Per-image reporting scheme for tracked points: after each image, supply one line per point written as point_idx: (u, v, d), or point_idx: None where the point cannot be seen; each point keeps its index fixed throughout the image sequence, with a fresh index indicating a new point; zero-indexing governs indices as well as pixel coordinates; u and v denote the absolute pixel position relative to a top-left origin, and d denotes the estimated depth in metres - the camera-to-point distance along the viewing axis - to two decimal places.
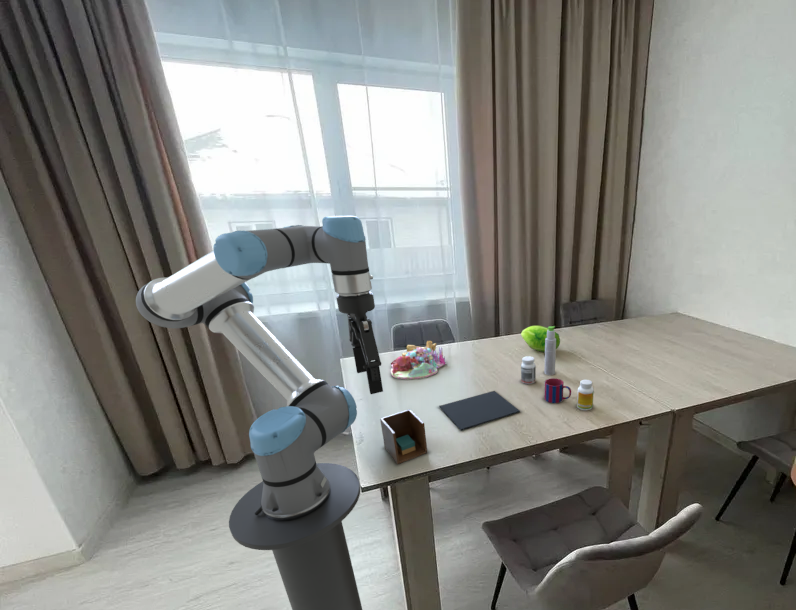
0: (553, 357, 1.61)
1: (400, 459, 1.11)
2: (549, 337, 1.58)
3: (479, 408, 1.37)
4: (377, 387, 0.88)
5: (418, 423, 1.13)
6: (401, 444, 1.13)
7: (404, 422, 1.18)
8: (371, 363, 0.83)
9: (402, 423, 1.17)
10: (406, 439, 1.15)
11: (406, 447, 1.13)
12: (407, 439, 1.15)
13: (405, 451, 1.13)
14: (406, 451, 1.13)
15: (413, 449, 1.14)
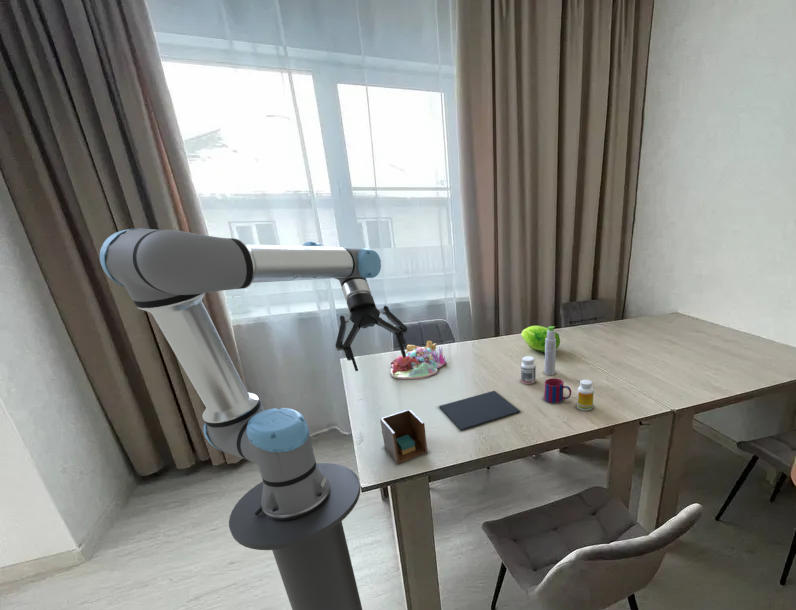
0: (553, 357, 1.61)
1: (400, 459, 1.11)
2: (549, 337, 1.58)
3: (479, 408, 1.37)
4: None
5: (418, 423, 1.13)
6: (401, 444, 1.13)
7: (404, 422, 1.18)
8: None
9: (402, 423, 1.17)
10: (406, 439, 1.15)
11: (406, 447, 1.13)
12: (407, 439, 1.15)
13: (405, 451, 1.13)
14: (406, 451, 1.13)
15: (413, 449, 1.14)
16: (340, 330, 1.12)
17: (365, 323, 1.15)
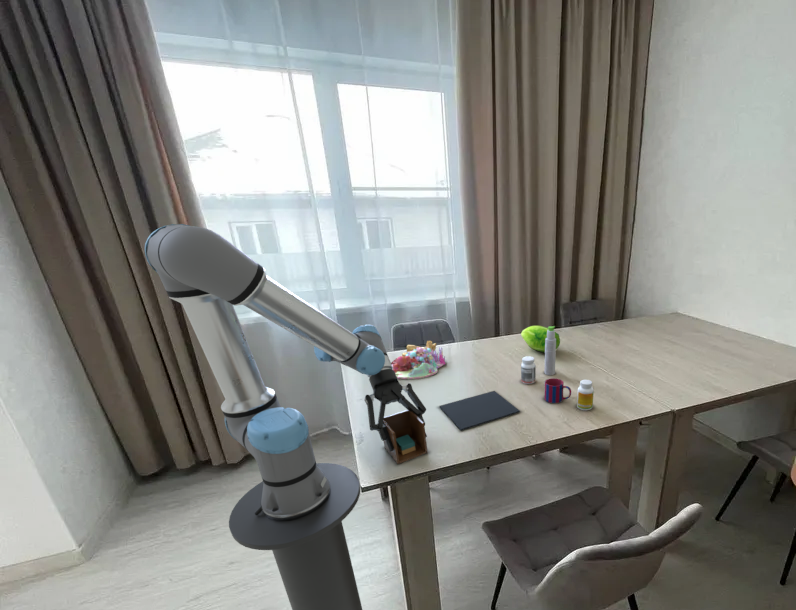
0: (553, 357, 1.61)
1: (400, 459, 1.11)
2: (549, 337, 1.58)
3: (479, 408, 1.37)
4: None
5: (418, 423, 1.13)
6: (401, 444, 1.13)
7: (404, 422, 1.18)
8: None
9: (402, 423, 1.17)
10: (406, 439, 1.15)
11: (406, 447, 1.13)
12: (407, 439, 1.15)
13: (405, 451, 1.13)
14: (406, 451, 1.13)
15: (413, 449, 1.14)
16: (370, 410, 1.10)
17: (390, 399, 1.14)
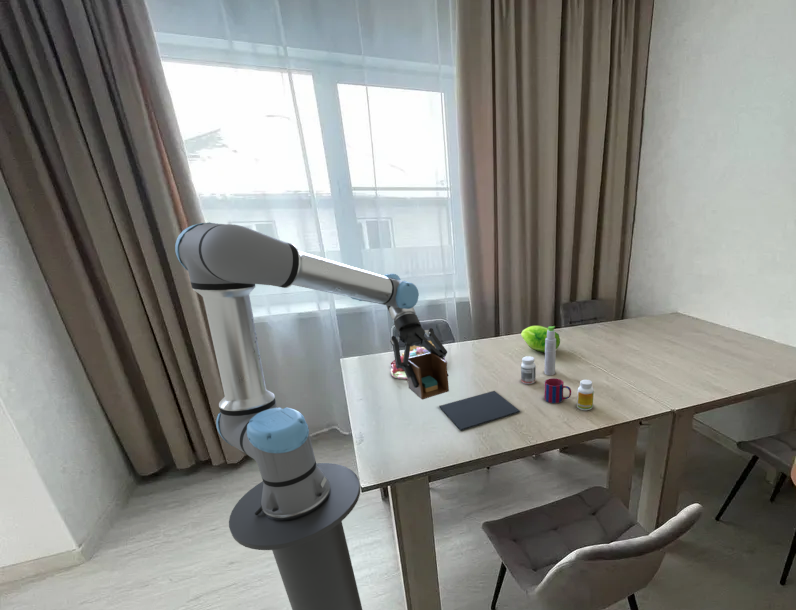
0: (553, 357, 1.61)
1: (424, 395, 1.19)
2: (549, 337, 1.58)
3: (479, 408, 1.37)
4: None
5: (440, 363, 1.21)
6: (424, 382, 1.21)
7: (426, 364, 1.26)
8: None
9: (425, 365, 1.26)
10: (429, 379, 1.23)
11: (429, 385, 1.21)
12: (430, 379, 1.23)
13: (428, 389, 1.21)
14: (429, 389, 1.21)
15: (435, 388, 1.22)
16: (396, 349, 1.18)
17: (414, 341, 1.22)
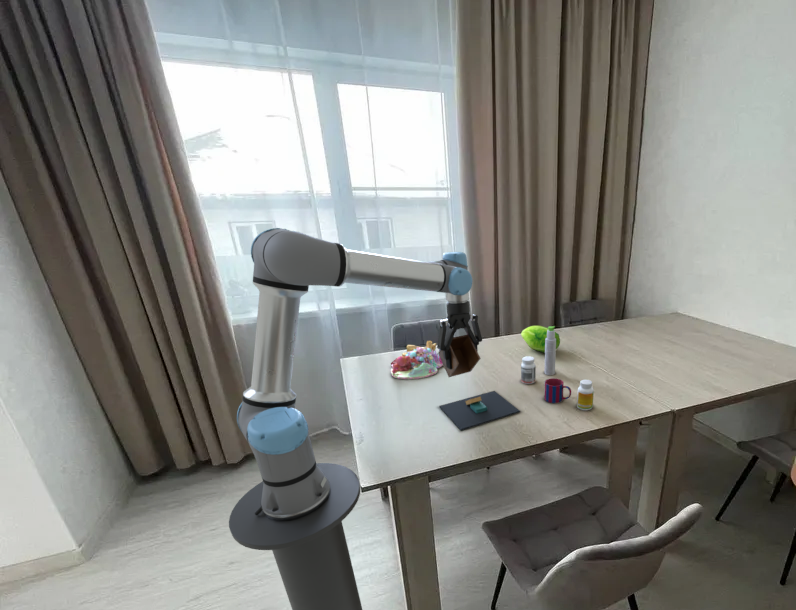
0: (553, 357, 1.61)
1: None
2: (549, 337, 1.58)
3: None
4: None
5: (474, 353, 1.38)
6: None
7: (460, 341, 1.40)
8: None
9: (458, 342, 1.40)
10: None
11: None
12: None
13: None
14: None
15: None
16: (443, 335, 1.30)
17: (459, 327, 1.33)
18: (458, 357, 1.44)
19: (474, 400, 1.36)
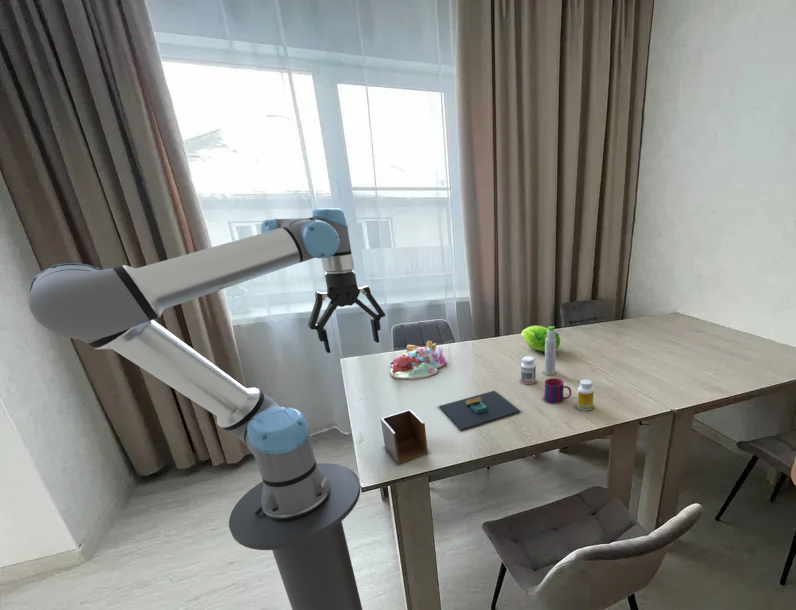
0: (553, 357, 1.61)
1: (400, 459, 1.11)
2: (549, 337, 1.58)
3: None
4: None
5: (418, 424, 1.13)
6: None
7: (404, 422, 1.18)
8: None
9: (402, 423, 1.17)
10: None
11: None
12: None
13: None
14: None
15: None
16: (316, 310, 1.04)
17: (344, 304, 1.08)
18: (410, 444, 1.18)
19: (474, 400, 1.36)
